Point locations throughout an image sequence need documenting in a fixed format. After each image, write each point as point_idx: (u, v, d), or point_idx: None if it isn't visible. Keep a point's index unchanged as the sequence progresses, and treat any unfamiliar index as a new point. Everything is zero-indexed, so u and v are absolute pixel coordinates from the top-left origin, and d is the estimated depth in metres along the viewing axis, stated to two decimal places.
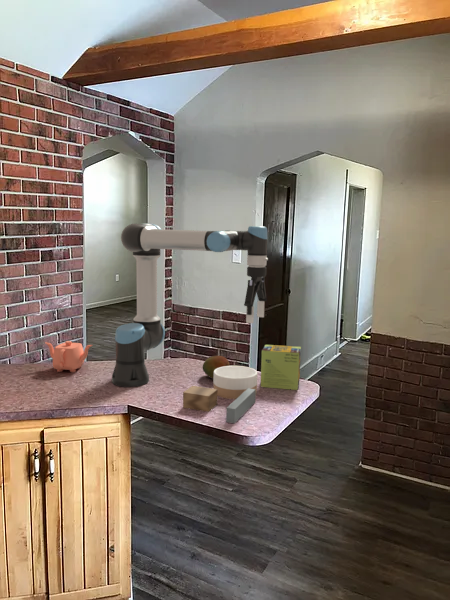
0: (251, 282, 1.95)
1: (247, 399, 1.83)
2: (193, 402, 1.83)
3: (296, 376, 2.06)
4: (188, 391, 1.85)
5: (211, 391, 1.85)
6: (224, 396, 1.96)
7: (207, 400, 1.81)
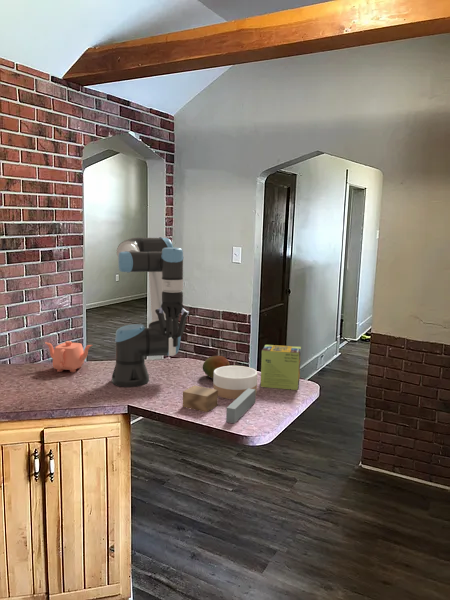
0: None
1: (247, 399, 1.83)
2: (192, 401, 1.84)
3: (296, 376, 2.06)
4: (188, 391, 1.85)
5: (210, 392, 1.85)
6: (224, 396, 1.96)
7: (206, 401, 1.81)
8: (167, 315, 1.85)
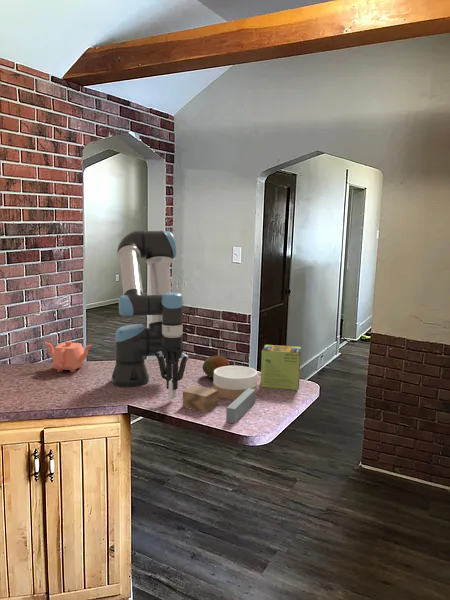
0: None
1: (247, 399, 1.83)
2: (192, 401, 1.84)
3: (296, 376, 2.06)
4: (187, 391, 1.86)
5: (210, 392, 1.85)
6: (224, 396, 1.96)
7: (205, 401, 1.81)
8: (167, 359, 1.88)
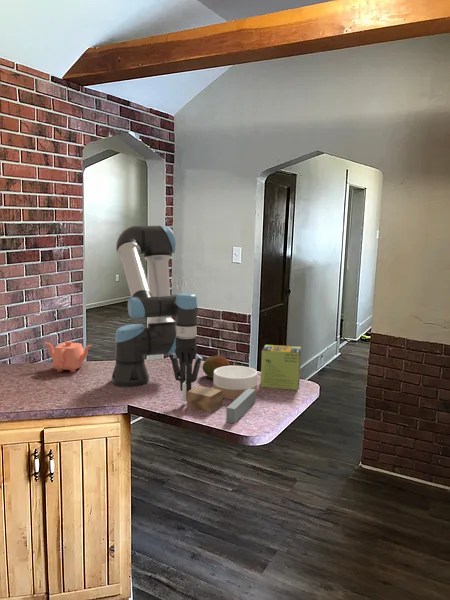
0: None
1: (247, 399, 1.83)
2: (196, 401, 1.83)
3: (296, 376, 2.06)
4: (192, 391, 1.85)
5: (214, 392, 1.85)
6: (224, 396, 1.96)
7: (209, 401, 1.81)
8: (181, 361, 1.85)
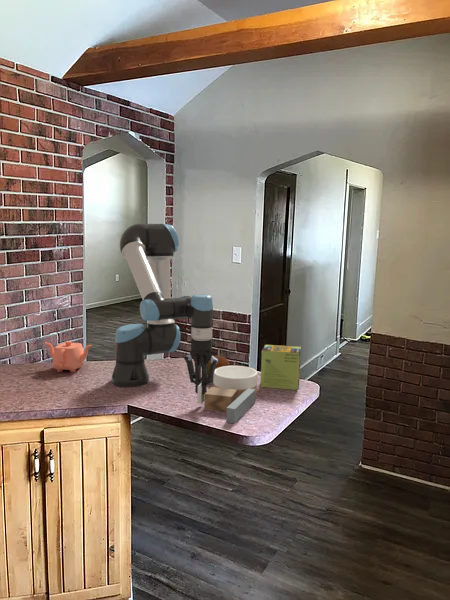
0: None
1: (247, 399, 1.83)
2: (215, 403, 1.83)
3: (296, 376, 2.06)
4: (209, 393, 1.84)
5: (232, 392, 1.85)
6: None
7: (230, 401, 1.81)
8: (196, 363, 1.83)
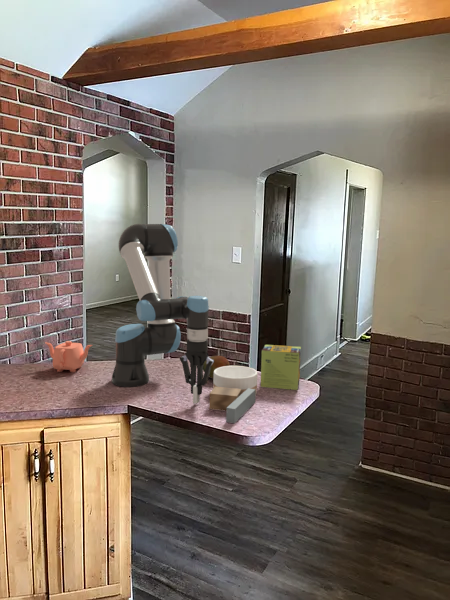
0: None
1: (247, 399, 1.83)
2: (220, 402, 1.83)
3: (296, 376, 2.06)
4: (214, 392, 1.84)
5: (236, 391, 1.86)
6: None
7: None
8: (192, 363, 1.85)
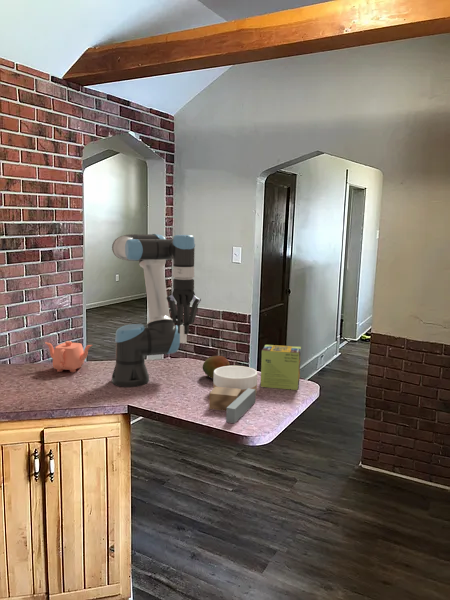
0: None
1: (247, 399, 1.83)
2: (220, 402, 1.83)
3: (296, 376, 2.06)
4: (214, 392, 1.84)
5: (236, 391, 1.86)
6: None
7: None
8: (178, 302, 1.85)
